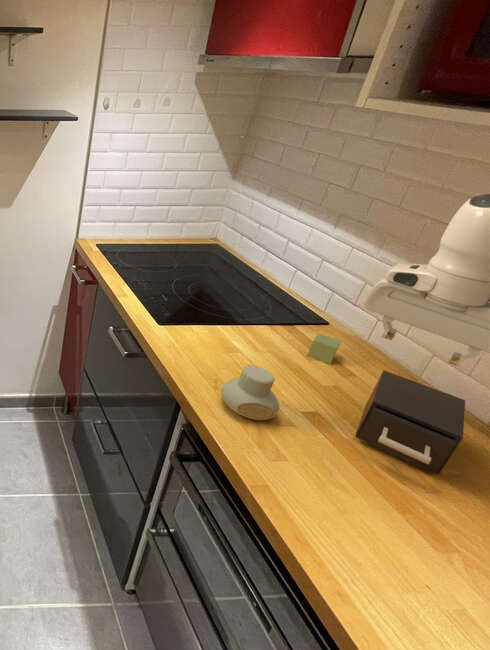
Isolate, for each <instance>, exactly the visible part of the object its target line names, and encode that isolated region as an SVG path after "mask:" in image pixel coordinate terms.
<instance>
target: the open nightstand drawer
mask: <svg viewBox="0 0 490 650" xmlns="http://www.w3.org/2000/svg"><path fill="white" fill-rule="evenodd" d="M449 437H450V436H448V435H446V434H444V433H441V432H439V431H436V430H434V429H432V428H429V427H427V426H424V425H422V424H419V423H417V422H415V421H412V420H410V419H407V418H405V417H403V416H400V415H398V414H395V413H393V412H390V411H388V410H386V409H383V408H381V407H378V406H377V407H375V408H374V410H373V412H372V414H371V416H370V418H369V420H368V422H367V423H366V425H365V427H364V429H363V431H362V433H361V435H360V437H359V438H358V439H359V440H360V441H362V442H365V443H367V444H369V445H371V446H373V447H376V448H377V449H379V450H382V451H384V452H386V453H388V454H390V455H393V456H394V457H397V458H399V459H401V460H404V461H406V462H408V463H411V464H413V465H415V466H416V467H419V468H420V469H424V470H426V471H428V472H430V473H432V474H434V475H438V474H437V472H438V470H439V469H440V467H441V466H442V464H443V463H444V461H445V460H446V458H447V457H448V455H449V454H450V452H451V450H452V449H453V447H454V446H455V444H456V441H455V440H453V439H450V438H449Z"/></svg>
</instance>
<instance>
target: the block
mask: <svg viewBox="0 0 490 650" xmlns="http://www.w3.org/2000/svg"><path fill="white" fill-rule="evenodd" d="M341 343H342V340H339V339H336V338H334V337H330V336H328V335H325V334H322V333H317V334H316V335H315V337H314V339H313V340H312V343H311V345H310V348H309V350H308V353H307V357H310V358H313V359H315V360H318V361H320V362H323V363H325V364H329V365H331V364H332V362H333V360H334V359H335V356H336V353H337V352H338V349H339V347H340V345H341Z"/></svg>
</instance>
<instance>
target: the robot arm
mask: <svg viewBox="0 0 490 650" xmlns="http://www.w3.org/2000/svg"><path fill="white" fill-rule="evenodd" d="M362 304H363V307H364V309H365V310H367V311H370V312H372V313H375V314H377V315H381V316H382V318H381V323H382V327H383V329H384V331H383V333H382V335H381V338H384V339H386V340H389V341H392V340H394V338H395V337H396V335H397V334H398V333H397V332H398V330H397V329H395V328H393V326H392V325H393V324H392V322H394V321H398V322H401V323H404V324H406V325H409V326H412V327H414V328H418V329H420V330H423V331H426V332H429V333H431V334H434V335H437V336H440V337H443V338H446V339H449V340H451V341H454V342H456V343H459V344H463V345H465V346H468V348H467V351H465V352H463V353H459V352H456V351H455V352H454V353H453V355H451V357H450V359H449V361H448V363H449V364H451V365H454V366H457V367H459V368H460V367H461V366H462V364H463V362H464V361H465V360H468V359H471V358H474V357H477V356H479V354H480V352H481V351H482V352H485V353H488V354H490V193H483V194H479V195H475V196H473V197H471V198H468V200H466V201H465V202H464V203H463V204H462V205H461V206H460V207H459V209H458V210H457V211H456V212H455V214H454V215H453V217H452V218H451V220H450V221H449V223H448V225H447V227H446V228H445V230H444V232H443V234H442V236H441V239H440V242H439V248H438V251H437V252H436V254H434V256H432V257H431V258H430V260H429V261H428V263H427V264H425V263H410V262H409V263H408V262H401V263H397V264H395V265H393V266H391V267H390V268H389V269H388V270H387V272H386V274H385V276H384V277H383V278H381V279H380V280H378V281H377V282H376V283H374V285H373V287H372V288H371V289H370V290H369V292H368V293H367V295H366V296H365V298H364V300H363V302H362Z"/></svg>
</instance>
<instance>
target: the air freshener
mask: <svg viewBox="0 0 490 650" xmlns="http://www.w3.org/2000/svg"><path fill="white" fill-rule="evenodd" d="M274 383H275V377H274V374H272V373H271V372H270V371H269V370H267V369H266V368H263V367H261V366H258V365H246V366H245V365H244V367H243V368H242V370H241V373H240V375H239V377H235V378H232V379H231V378H230V379H229V380H227V381H226V382H225V383H223V385H222V387H221V397H222V399H223V401H224V402H225V404H226V406H228V407H229V408H230V409H231V410H232V411H233V412H235V413H236V414H238V415H240V416H241V417H244V418H248V419H251V420H258V421H264V420H269V419H272V418H273V417H275V416H276V415H277V414H278V413H279V409H280V403H279V402H280V401H279V399H278V397H277V396H276V394H275V393H274V392H273V391H272V387H273V385H274Z"/></svg>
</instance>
